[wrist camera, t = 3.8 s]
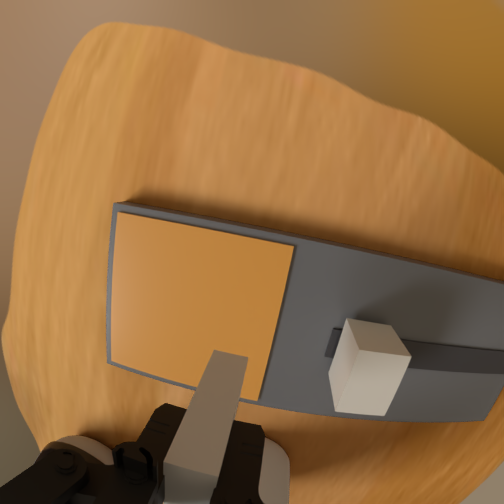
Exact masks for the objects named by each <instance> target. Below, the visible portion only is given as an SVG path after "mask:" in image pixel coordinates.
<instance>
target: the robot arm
mask: <svg viewBox="0 0 504 504" xmlns="http://www.w3.org/2000/svg"><path fill="white" fill-rule="evenodd" d="M247 362H248V357H245V356H240V355H236V354H231V353H227V352H223V351H218V350H214V351H213V353H212V355H211V357H210V360H209V362H208V364H207V366H206V369H205V371H204V373H203V375H202V377H201V380H200V382H199V384H198V386H197V389H196V391H195V393H194V395H193V397H192V400H191V402H190V404H189V406H188V409H184V408H181V407H177V406H174V405H171V404H167V403H164V404H163V405H161V406H160V407H158V408H157V409H155V411H154V413H153V414H152V416H151V418H150V420H149V421H148V423H147V425H146V426H145V428H144V430H143V432H142V433H141V435H140V437H139V438H138V440H137V442H124V443H122V444H119V445H117V446H116V447H115V448H114V449H113V450H112V456H113V462H114V464H112V465H102V464H96V463H89V462H85V459H84V458H83V457H82V456H81V455H80V454H79V453H77V452H75V451H74V450H70V449H57V450H55V451H52V452H50V453H49V454H48V455H46V456H45V457H43V458H42V459H41V460H39V461H38V462H36V463H35V464H34V465H32V466H31V467H29V468H28V469H26V470H25V471H24V472H22V473H21V474H19V475H18V476H16V477H15V478H13V479H12V480H10V481H9V482H8V483H6V484H5V485H3V486H2V487H0V504H163V501H164V504H264V503H263V501H262V500H261V499H260V496H259V481H260V474H261V466H262V459H263V458H262V457H263V451H264V443H265V434H264V432H263V429H262V427H261V425H256V424H251V423H246V422H241V421H236V420H234V419H235V415H236V411H237V407H238V403H239V398H240V394H241V389H242V385H243V380H244V376H245V371H246V366H247Z"/></svg>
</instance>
